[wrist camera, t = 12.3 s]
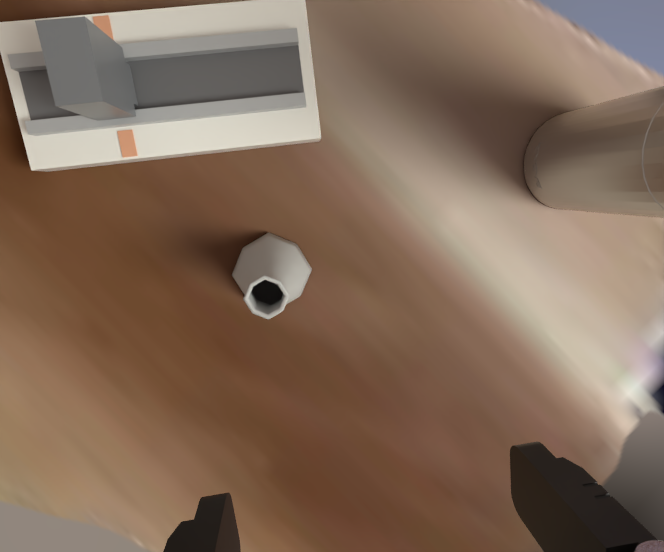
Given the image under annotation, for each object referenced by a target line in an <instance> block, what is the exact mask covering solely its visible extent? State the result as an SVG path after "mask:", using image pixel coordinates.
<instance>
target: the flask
mask: <svg viewBox="0 0 664 552" xmlns="http://www.w3.org/2000/svg"><path fill="white" fill-rule="evenodd" d="M311 271H312V268H311V267H310V265H309V263H308V262H307V260H306V258H305V257H304V255H303V253H302V252H301V250H300V248H299V247H298V245H297V244H296V243H293V242H291V241H288V240H286V239H284V238H281V237H279V236H276V235H274V234H271V233H267V234H265V235H263V236H262V237H260V238H258V239H257V240H255V241H253V242H252V243H250V244H248V245H246V246H245V247H243V248H242V251H241V253H240V256H239V258H238V261H237V263H236V266H235V268H234V271H233V273H232V276H233V278H234V279H235V281H236V283H237V284H238V286H239V287H240V289H241V290H242V292H243V293H244V295H245V296H244V298H243V300H244V301H245V303H246V304H247V306H248V307H249V309H250V310H251V312H252V313H253V314H255V315H258V316H261V317H263V318H266V319H270V318H272V317H274V316H275V315H277V314H279V313H280V312H282V311H283V310H284V307H285V305H286V304H288V303H289V302H291V301H293V300H295V299H296V298H298V297H300V296H301V294H302V292H303V289H304V287H305V285H306V282H307V280H308V278H309V275H310V273H311Z"/></svg>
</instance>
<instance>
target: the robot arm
mask: <svg viewBox="0 0 664 552" xmlns="http://www.w3.org/2000/svg"><path fill="white" fill-rule="evenodd" d="M524 175H525V179H526V182H527V185H528V188H529V189H530V191H531V192H532V194H533V195H534V196H535V197H536V198H537V199H538V200H539V201H540V202H541V203H543V204H545V205H546V206H549V207H552V208H555V209H564V210H575V211H585V212H597V213H610V214H623V215H635V216H648V217H661V218H664V86H662V87H658V88H654V89H651V90H647V91H644V92H640V93H636V94H633V95H629V96H625V97H622V98H618V99H614V100H611V101H607V102H603V103H600V104H596V105H592V106H588V107H585V108H581V109H577V110H574V111H570V112H566V113H563V114H560V115H557V116H555V117H553V118H551V119H549V120H548V121H546V122H545V123H544V124H543V125H542V126H541V127H540V128H538V130H537V131H536V132H535V134H534V135H533V136H532V138H531V140H530V142H529V144H528V146H527V150H526V153H525V157H524ZM510 469H511V494H512V500H513V503H514V506H515V508H516V511H517V513H518V515H519V516H520V518H521V519H522V521H523V522H524V524H525V525H526V527H527V528H528V529H529V531H530V532H531V534H532V535H533V537H534V538H535V540H536V541H537V542H538V544H539V545H540V547H541V548H542V550H543V551H544V552H664V541H658V540H657V539H656V538H655V537H654V536H653V535H652V534H651V533H650V532H649V531H648V530H647V529H646V528H645V527H644V526H643V525H642V524H640V523H639V522H638V521H637V520H636V519H635V518H634V517H633V516H632V515H631V514H630V513H629V512H628V511H627V510H626V509H624V507H623V506H622V505H621V504H620V503H618V502H617V501H616V500H615V499H614V498H613V497H610V495H609V493H608V492H607V491H606V490H605V489H604V488H603V487H602V486H601V485H598V484H597V481H596V480H595V479H593V478H592V477H591V476H590V475H589V474H588V473H587V472H586V471H585V470H584V469H583V468H582V467H580V466H578V465H576V464H574V463H572V462H571V461H569V460H567V459H565V458H563V457H562V458H555V457H554V456H553V454H552V453H551V452H550V451H549V450H548V449H547V448H546V447H545V446H544V445H543V444H541V443H540V442H533V443H527V444H521V445H515V446H512V447H511V449H510ZM164 552H240V540H239V535H238V529H237V524H236V519H235V514H234V509H233V504H232V499H231V495H230V493H224V494H218V495H212V496H206V497H202V498H201V499H200V501H199V505H198V508H197V512H196V515H195V518H194V520H189V521H183V522H181V523H180V524H179V526H178V527H177V528H176V529H175V531H174V532H173V533H172V534H171V536H170V537H169V538H168V540H167V543H166V546H165V549H164Z"/></svg>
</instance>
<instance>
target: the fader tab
mask: <svg viewBox="0 0 664 552" xmlns="http://www.w3.org/2000/svg"><path fill="white" fill-rule="evenodd" d="M35 23H36V27H37V31H38V35H39V40H40V44H41V48H42V52H43V56H44V60H45V64H46V69H47V73H48V77H49V81H50V85H51V89H52V93H53V97H54V102H55V106H57V107H60V108H62V109H65V110H68V111H71V112H74V113H77V114H80V115H82V116H85V117H88V118H91V119H94V120H97V121H99V120H109V119H119V118H128V117H136V112H135V107H134V106H138V102H137V97H136V92H135V87H134V83H133V78H132V73H131V68H130V65H129V64H127V63H126V62H125V58H124V53H123V48H122V47H121V46H120V45H118V44H117V43H116V42H115V41H114V40H113V39H111V38H110V37H109V36H108V35H107V34H105V33H104V32H103V31H102V30H101V29H99V28H98V27H97V26H96V25H95V24H93V23H92V22H91V21H90V20H89V19H87V18H86V17H85V16H83V17H72V18H60V19H49V20H37V21H35Z"/></svg>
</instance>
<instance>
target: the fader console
mask: <svg viewBox="0 0 664 552" xmlns="http://www.w3.org/2000/svg"><path fill="white" fill-rule="evenodd" d="M83 16H85V17H86V18H87V19H89V20H90V21H91V22H92V23H93V24H95V25H96V26H97V27H98V28H99V29H101V30H102V31H103V32H104V33H105V34H107V35H108V36H109V37H110V38H111V39H113V40H114V41H115V42H116V43H117V44H118V45H120V46H121V47H122V48H123V53H124V58H125V62H126V63H127V64H129V65H130V68H131V73H132V78H133V83H134V87H135V92H136V97H137V102H138V106H134V107H135V112H136V117H128V118H119V119H109V120H99V121H97V120H94V119H91V118H88V117H85V116H82V115H80V114H77V113H74V112H71V111H68V110H65V109H62V108H60V107H57V106H55V102H54V97H53V93H52V89H51V85H50V81H49V77H48V73H47V69H46V64H45V60H44V56H43V52H42V48H41V44H40V40H39V35H38V31H37V27H36V23H35V21H37V20H49V19H60V18H72V17H83ZM0 53H1V56H2V60H3V64H4V68H5V72H6V76H7V79H8V83H9V87H10V91H11V95H12V98H13V102H14V106H15V110H16V114H17V118H18V121H19V125H20V129H21V133H22V137H23V140H24V144H25V148H26V152H27V156H28V160H29V163H30V167H31V170H34V171H48V172H49V171H58V170H67V169H76V168H85V167H94V166H103V165H112V164H121V163H130V162H139V161H148V160H157V159H166V158H174V157H183V156H192V155H201V154H210V153H219V152H228V151H237V150H246V149H255V148H264V147H273V146H282V145H291V144H300V143H309V142H318V141H320V140H321V131H320V122H319V114H318V105H317V97H316V88H315V79H314V71H313V62H312V53H311V45H310V36H309V28H308V19H307V10H306V2H305V0H251V1H240V2H228V3H217V4H205V5H194V6H182V7H171V8H159V9H148V10H136V11H124V12H113V13H101V14H90V15H78V16H67V17H55V18H44V19H32V20H20V21H9V22H0Z"/></svg>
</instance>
